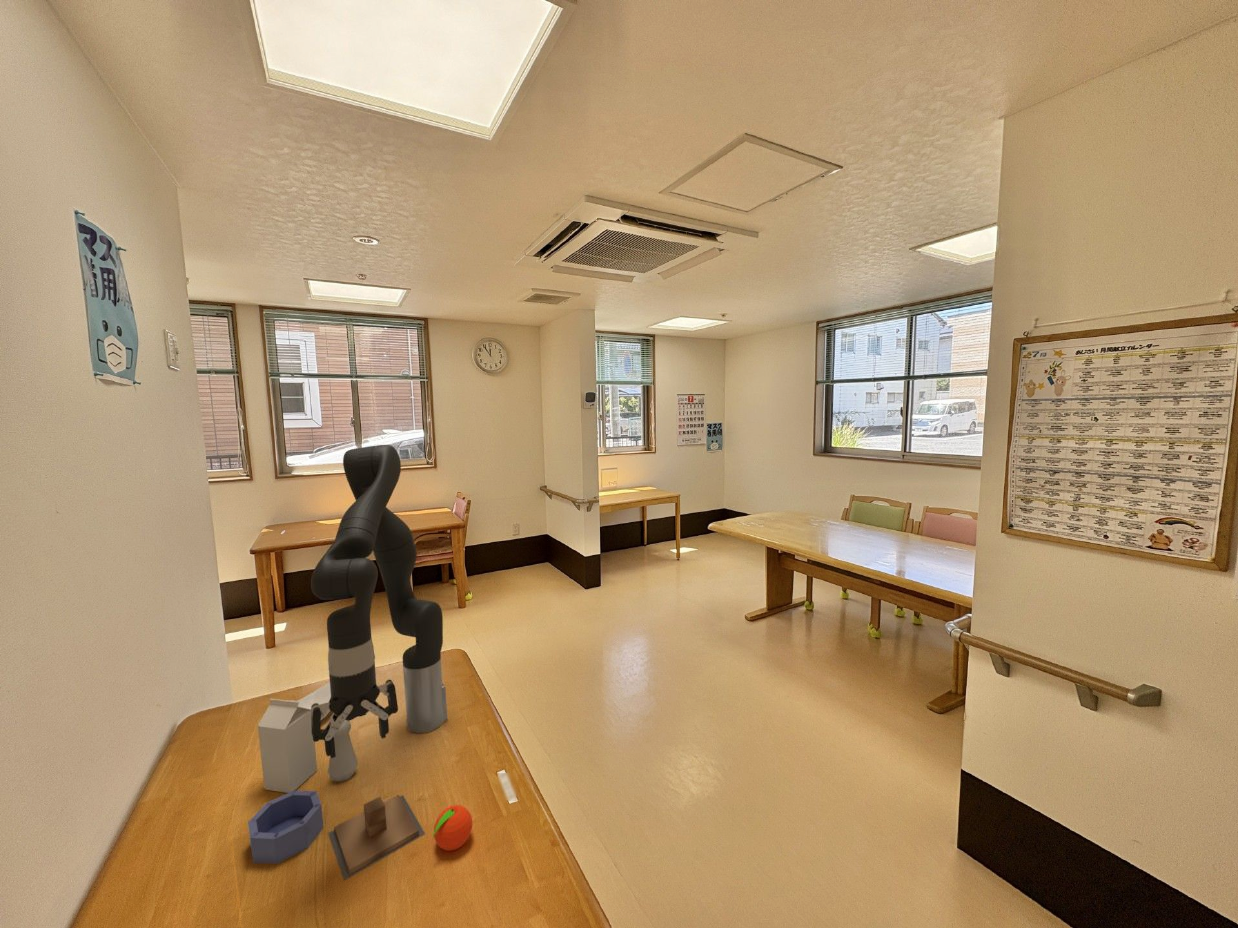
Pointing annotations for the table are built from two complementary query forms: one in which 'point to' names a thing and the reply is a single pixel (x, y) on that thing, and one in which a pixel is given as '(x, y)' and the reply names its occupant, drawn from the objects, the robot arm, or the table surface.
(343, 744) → the salt shaker
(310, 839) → the bowl
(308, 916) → the table surface
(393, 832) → the lid
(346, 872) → the mat
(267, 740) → the milk carton
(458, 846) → the clementine
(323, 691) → the spoon rest
